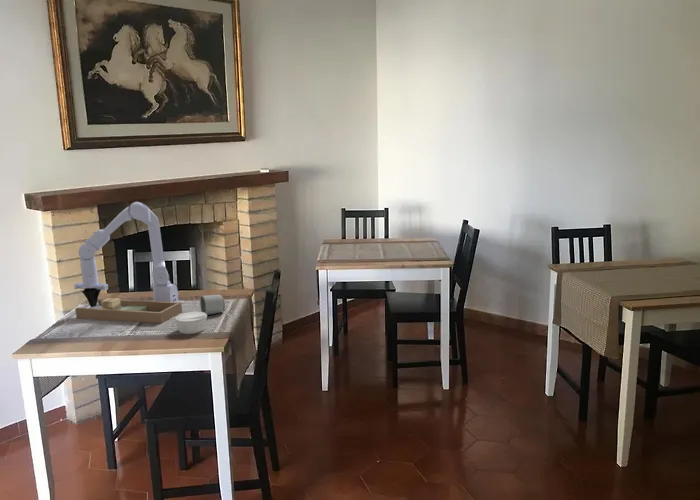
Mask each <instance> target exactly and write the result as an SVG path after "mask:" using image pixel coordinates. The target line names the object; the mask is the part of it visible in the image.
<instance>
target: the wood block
mask: <svg viewBox="0 0 700 500" xmlns="http://www.w3.org/2000/svg"><path fill="white" fill-rule="evenodd" d="M104 299H105V300H103V301H101V304H102V309H111V310H118V309H120V308H121V302H120V300H121V298H120V297H108V298H104Z"/></svg>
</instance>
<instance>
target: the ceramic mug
mask: <svg viewBox="0 0 700 500" xmlns="http://www.w3.org/2000/svg"><path fill="white" fill-rule="evenodd" d="M199 302H200V304H199V307H200V310H201V311H200V312H204V313H206V314H207V316H208V315H215V314H219V313H222V312H223V313H224V311H225V307H226V306H225V305H226V303H225V302H226V301H225V298H224V296H222V295H221V294H211V295H201V297H200V300H199Z"/></svg>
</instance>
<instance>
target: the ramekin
mask: <svg viewBox="0 0 700 500" xmlns="http://www.w3.org/2000/svg"><path fill="white" fill-rule="evenodd" d="M174 317H175V318H174V320H175V322H176V326H177V329H178V332H179V333H180V334H184V335H191V334H193V335H194V334H199V333H200V332H203V331H204V330H205V329H206V326H207V318H208V315H207V314H206V313H204V312H202V311H190V312H188V311H187V312H184V313H183V312H182V313H180V314H178V315H176V316H174Z"/></svg>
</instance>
